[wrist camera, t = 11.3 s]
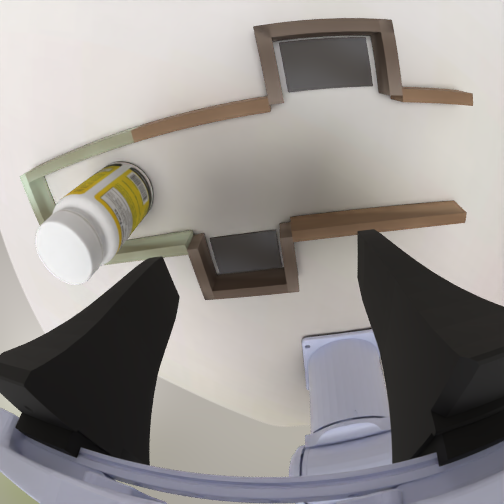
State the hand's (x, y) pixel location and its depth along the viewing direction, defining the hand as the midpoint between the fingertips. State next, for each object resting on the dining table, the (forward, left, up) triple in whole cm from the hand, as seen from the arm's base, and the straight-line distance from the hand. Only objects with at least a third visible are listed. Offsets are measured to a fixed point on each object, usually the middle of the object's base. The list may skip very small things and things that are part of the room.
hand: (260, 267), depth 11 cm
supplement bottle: (+1, +10, -10) cm, 14 cm away
